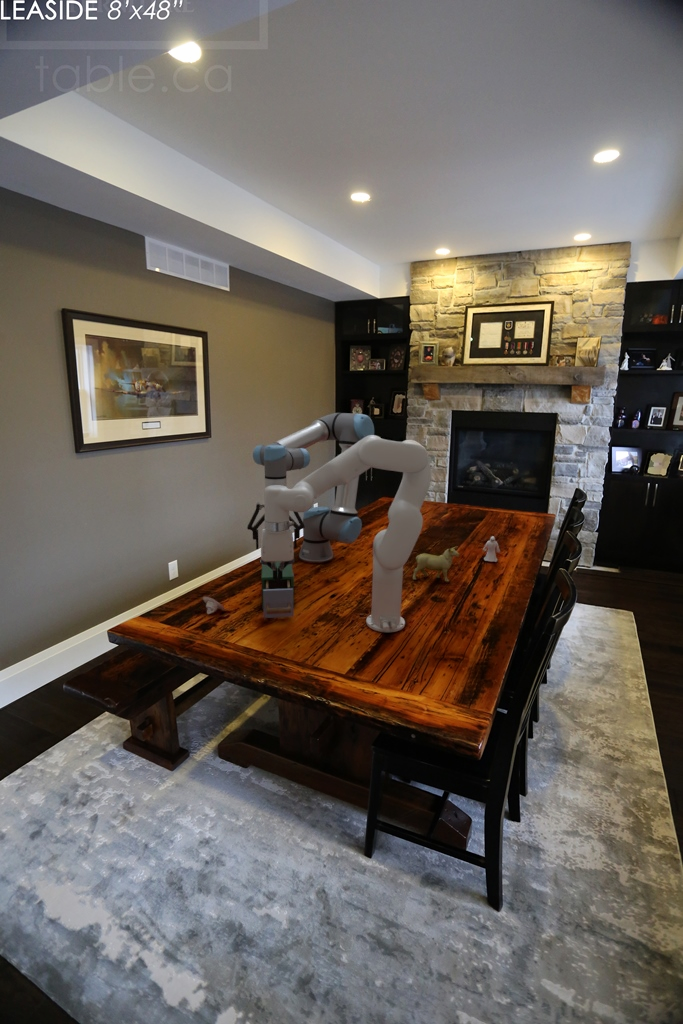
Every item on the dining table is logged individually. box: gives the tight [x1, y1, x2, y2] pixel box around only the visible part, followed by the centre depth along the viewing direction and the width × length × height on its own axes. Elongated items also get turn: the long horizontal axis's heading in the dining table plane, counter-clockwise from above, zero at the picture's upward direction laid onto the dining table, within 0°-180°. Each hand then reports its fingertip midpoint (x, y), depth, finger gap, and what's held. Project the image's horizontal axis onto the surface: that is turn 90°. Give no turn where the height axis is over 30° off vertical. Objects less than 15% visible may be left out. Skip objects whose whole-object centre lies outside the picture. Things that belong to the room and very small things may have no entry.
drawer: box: [262, 579, 294, 619], centre depth 167 cm, size 21×10×10 cm, turn 8°
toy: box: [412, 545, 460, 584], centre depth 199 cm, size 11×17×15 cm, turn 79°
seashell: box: [202, 596, 226, 615], centre depth 167 cm, size 8×5×8 cm
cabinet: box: [260, 562, 295, 610], centre depth 179 cm, size 16×11×12 cm, turn 8°
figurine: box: [482, 535, 501, 563], centre depth 223 cm, size 8×8×12 cm
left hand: (276, 547), depth 180 cm, fingers open, 13 cm apart
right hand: (277, 581), depth 159 cm, fingers closed
